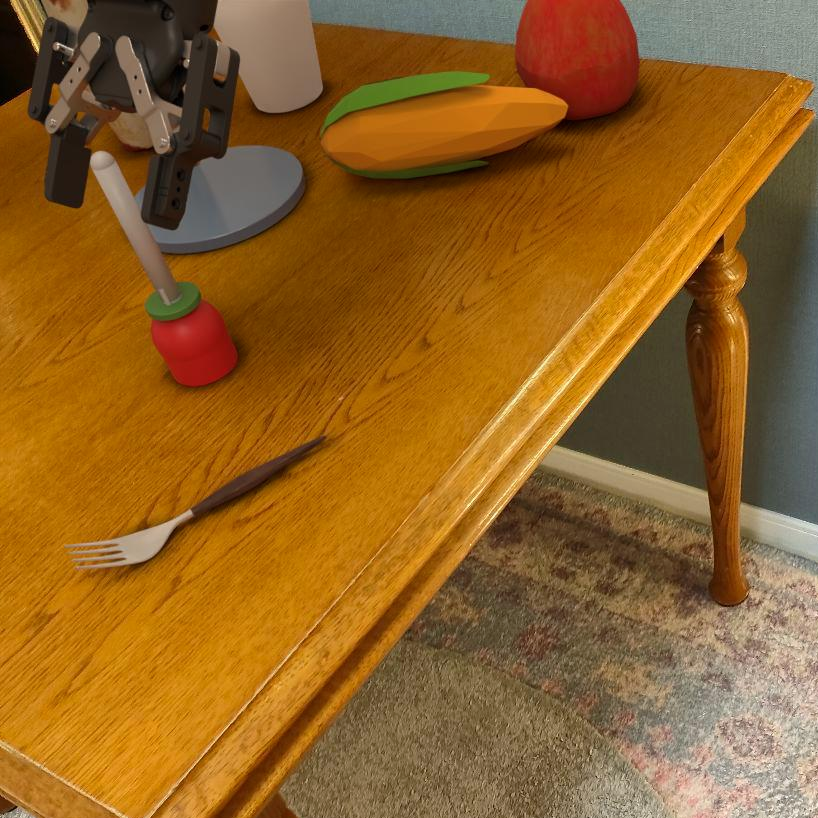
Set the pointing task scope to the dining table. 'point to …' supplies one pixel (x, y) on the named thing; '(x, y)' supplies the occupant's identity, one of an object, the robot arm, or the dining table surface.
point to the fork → (185, 515)
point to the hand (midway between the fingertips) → (108, 215)
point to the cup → (272, 51)
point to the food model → (130, 129)
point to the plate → (233, 199)
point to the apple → (579, 54)
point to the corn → (433, 124)
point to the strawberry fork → (170, 295)
